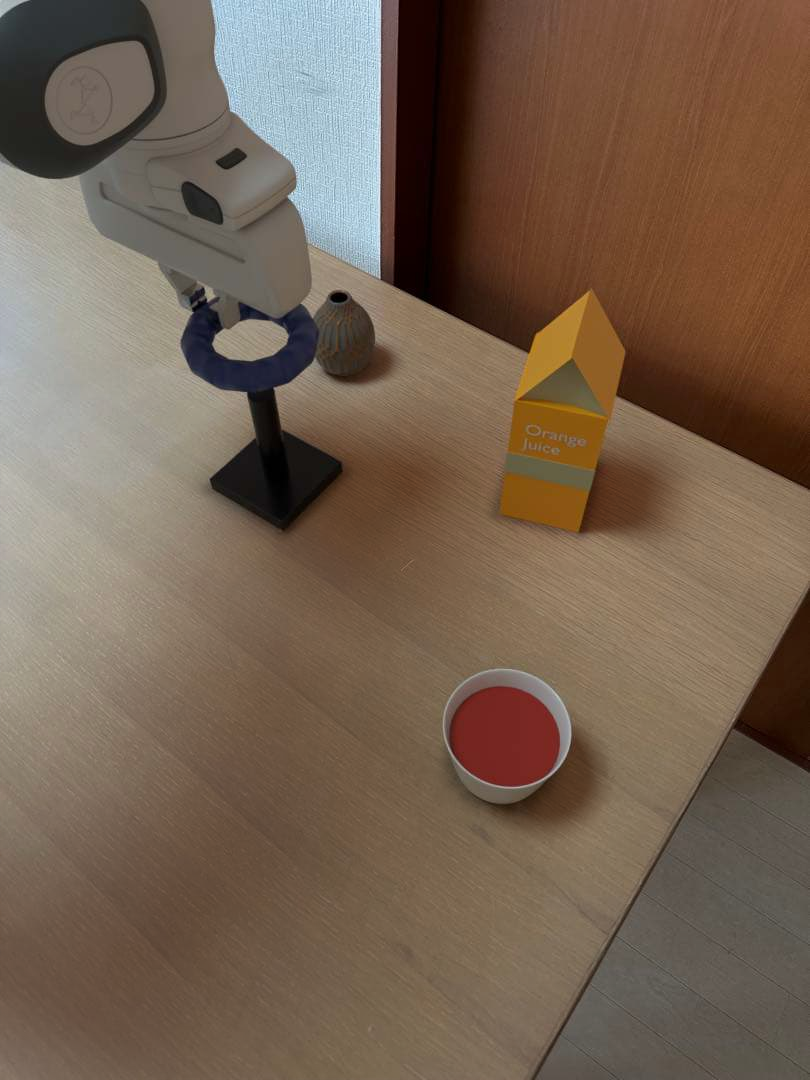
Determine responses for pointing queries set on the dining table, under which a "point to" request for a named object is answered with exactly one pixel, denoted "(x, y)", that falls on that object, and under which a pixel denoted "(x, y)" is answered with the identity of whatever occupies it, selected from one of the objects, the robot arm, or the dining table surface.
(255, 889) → the dining table surface
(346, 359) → the vase
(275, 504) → the black post stand
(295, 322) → the ring
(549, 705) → the candle
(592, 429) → the orange juice
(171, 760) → the dining table surface
